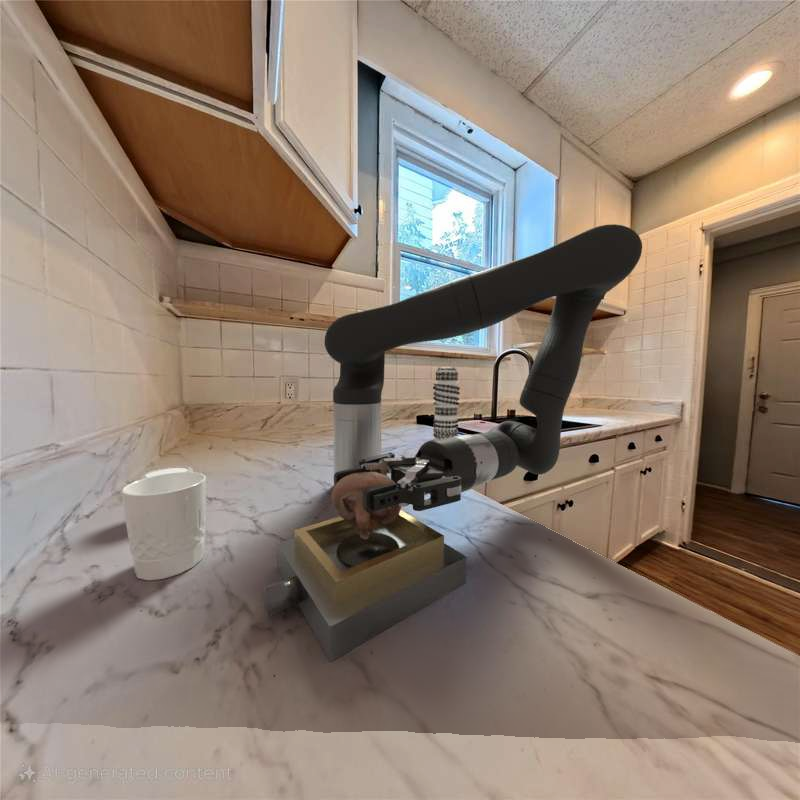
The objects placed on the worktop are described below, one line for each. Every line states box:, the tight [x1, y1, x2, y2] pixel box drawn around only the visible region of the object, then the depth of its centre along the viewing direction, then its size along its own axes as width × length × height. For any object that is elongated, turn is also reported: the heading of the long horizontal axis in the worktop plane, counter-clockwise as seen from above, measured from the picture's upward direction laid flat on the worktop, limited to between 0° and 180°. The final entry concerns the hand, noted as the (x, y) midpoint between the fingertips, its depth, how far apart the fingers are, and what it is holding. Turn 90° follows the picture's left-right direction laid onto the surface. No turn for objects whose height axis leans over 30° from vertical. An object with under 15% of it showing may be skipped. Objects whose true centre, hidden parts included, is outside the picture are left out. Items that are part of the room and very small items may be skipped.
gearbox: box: [262, 509, 468, 663], centre depth 35 cm, size 17×19×5 cm
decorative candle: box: [432, 366, 461, 440], centre depth 107 cm, size 9×9×25 cm
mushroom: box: [330, 472, 402, 539], centre depth 35 cm, size 8×6×8 cm
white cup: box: [121, 471, 207, 581], centre depth 37 cm, size 8×8×10 cm
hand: (349, 491), depth 33 cm, fingers closed on mushroom, 6 cm apart
